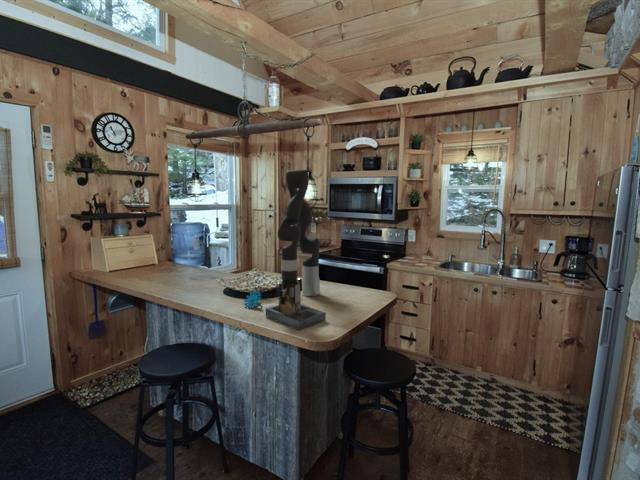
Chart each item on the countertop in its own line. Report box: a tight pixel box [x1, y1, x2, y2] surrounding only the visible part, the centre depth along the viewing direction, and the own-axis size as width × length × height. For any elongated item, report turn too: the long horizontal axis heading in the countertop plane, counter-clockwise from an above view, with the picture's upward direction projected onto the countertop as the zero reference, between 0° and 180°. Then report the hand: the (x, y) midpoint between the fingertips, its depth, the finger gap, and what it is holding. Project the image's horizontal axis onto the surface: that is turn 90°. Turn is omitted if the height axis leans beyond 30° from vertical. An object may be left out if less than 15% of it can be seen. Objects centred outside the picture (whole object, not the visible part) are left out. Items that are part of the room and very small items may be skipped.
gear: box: [243, 290, 264, 309], centre depth 177 cm, size 11×6×10 cm
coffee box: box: [278, 281, 302, 315], centre depth 161 cm, size 9×6×16 cm
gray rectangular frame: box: [265, 304, 327, 331], centre depth 159 cm, size 16×24×4 cm, turn 45°
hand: (289, 302), depth 162 cm, fingers closed on coffee box, 8 cm apart
